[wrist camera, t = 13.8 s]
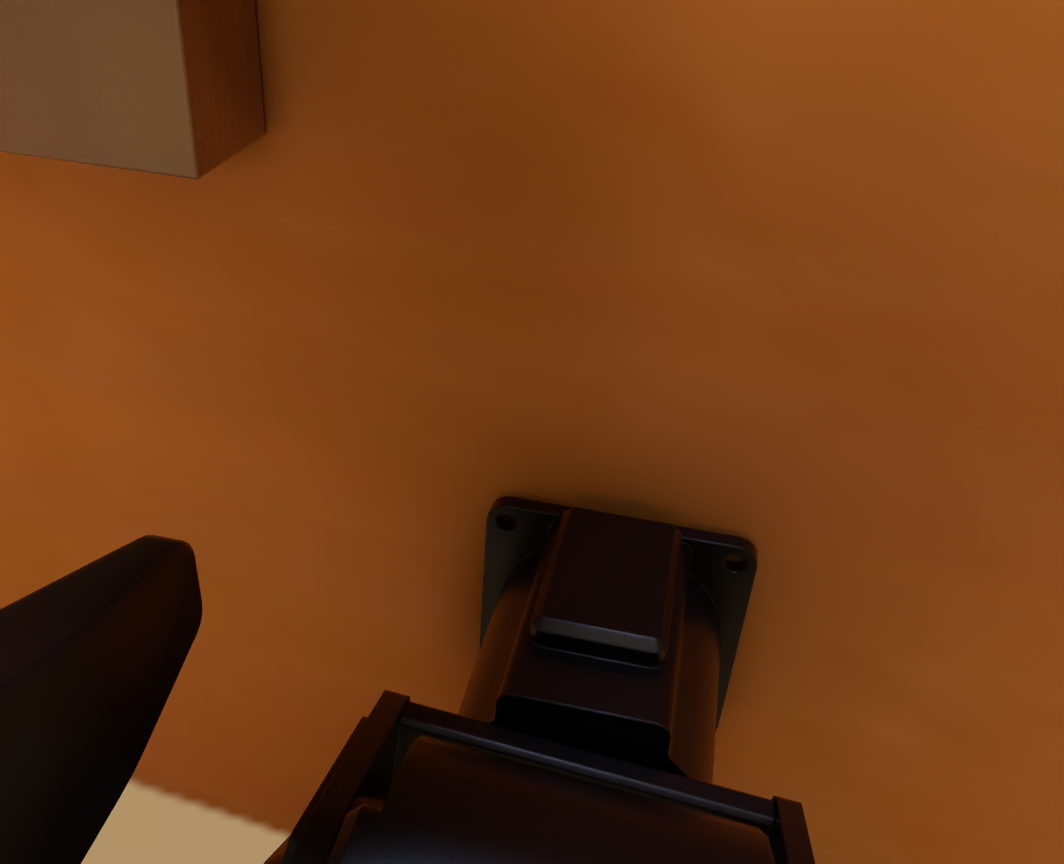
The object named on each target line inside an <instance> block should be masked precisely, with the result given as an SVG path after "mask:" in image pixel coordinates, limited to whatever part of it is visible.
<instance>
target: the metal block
mask: <svg viewBox="0 0 1064 864" xmlns="http://www.w3.org/2000/svg"><path fill="white" fill-rule="evenodd" d="M264 135H265V126H264V113H263V100H262V87H261V74H260V61H259V48H258V35H257V21H256V8H255V0H0V152H6V153H14V154H21V155H28V156H35V157H42V158H49V159H56V160H63V161H71V162H78V163H85V164H92V165H99V166H106V167H113V168H120V169H128V170H135V171H142V172H149V173H156V174H163V175H170V176H178V177H185V178H192V179H199V178H200V177H202V176H203V175H205V174H206V173H208V172H209V171H211V170H212V169H214V168H216V167H217V166H219V165H220V164H222V163H223V162H225V161H226V160H228V159H229V158H231V157H232V156H234V155H235V154H237V153H238V152H240V151H241V150H243V149H244V148H246V147H247V146H249V145H250V144H252V143H253V142H255V141H256V140H258V139H259V138H261V137H263V136H264Z"/></svg>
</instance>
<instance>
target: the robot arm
mask: <svg viewBox="0 0 1064 864" xmlns="http://www.w3.org/2000/svg"><path fill="white" fill-rule="evenodd" d="M502 514H508V515H510V516H513V517H514V518H515V519H516V521H508V520H505V519H504V518H503V517H502V516H501V515H502ZM730 556H740V557H742V558H743V559H744V560H742V561H740V562H733V561H731V560H729V559H728V557H730ZM756 569H757V550H756V548H755V546H754V544H752V543H751V542H750V541H749V540H747V539H744V538H741V537H737V536H731V535H725V534H720V533H714V532H708V531H703V530H697V529H691V528H686V527H680V526H674V525H672V524H667V523H661V522H656V521H650V520H644V519H639V518H633V517H627V516H622V515H616V514H610V513H605V512H599V511H593V510H588V509H582V508H577V507H574V508H573V507H567V506H561V505H556V504H550V503H544V502H539V501H533V500H527V499H522V498H516V497H501V498H499V499H497V500H496V501H495V502H494V503H493V504H492V506H491V509H490V511H489V514H488V517H487V525H486V543H485V561H484V579H483V598H482V616H481V634H480V652H479V654H478V657H477V660H476V663H475V666H474V669H473V672H472V675H471V678H470V681H469V683H468V686H467V689H466V692H465V695H464V698H463V701H462V704H461V707H460V709H459V712H458V714H454V713H450V712H447V711H443V710H439V709H436V708H432V707H428V706H425V705H421V704H417V703H413V702H410V696H406V695H403V694H399V693H395V692H391V691H388V690H385V691H384V692H383V694H382V695H381V697H380V699H379V700H378V702H377V704H376V705H375V707H374V709H373V710H372V712H371V714H370V715H369V717H365V716H363V717H362V718H361V720H360V722H359V723H358V725H357V727H356V728H355V730H354V731H353V733H352V735H351V736H350V738H349V740H348V741H347V743H346V745H345V746H344V748H343V749H342V751H341V753H340V754H339V756H338V758H337V759H336V761H335V762H334V764H333V766H332V767H331V769H330V771H329V772H328V774H327V776H326V777H325V779H324V780H323V782H322V784H321V785H320V787H319V789H318V790H317V792H316V793H315V795H314V797H313V798H312V800H311V802H310V803H309V805H308V807H307V808H306V810H305V811H304V813H303V815H302V816H301V818H300V820H299V821H298V823H297V825H296V826H295V828H294V830H293V832H292V833H291V835H290V836H289V837H288V838H287V839H286V840H285V841H284V842H283V843H282V844H281V846H280V847H279V848H278V849H277V850H276V851H275V852H274V853H273V854H272V855H271V856H270V857H269V858H268V859H267V860H266V861H265V863H264V864H815V861H814V857H813V852H812V848H811V843H810V839H809V834H808V830H807V826H806V821H805V817H804V812H803V808H802V804H801V803H799V802H796V801H792V800H788V799H785V798H781V797H777V796H773V798H772V799H771V800H769V799H766V798H762V797H758V796H755V795H751V794H747V793H744V792H740V791H736V790H733V789H729V788H725V787H722V786H718V785H714V784H712V778H713V762H714V746H715V731H716V729H717V728H718V723H719V719H720V715H721V711H722V707H723V703H724V699H725V695H726V691H727V687H728V683H729V679H730V675H731V671H732V667H733V663H734V659H735V655H736V650H737V646H738V642H739V638H740V634H741V630H742V626H743V622H744V618H745V614H746V610H747V606H748V602H749V598H750V594H751V590H752V586H753V581H754V577H755V573H756ZM201 618H202V599H201V593H200V586H199V580H198V573H197V567H196V561H195V555H194V551H193V549H192V547H191V546H190V545H189V543H187V542H185V541H182V540H177V539H172V538H167V537H161V536H156V535H147V536H143V537H141V538H138V539H136V540H134V541H132V542H130V543H129V544H127V545H125V546H123V547H121V548H119V549H117V550H115V551H113V552H111V553H109V554H107V555H105V556H103V557H101V558H99V559H97V560H95V561H93V562H91V563H90V564H88V565H86V566H84V567H82V568H80V569H78V570H76V571H74V572H72V573H70V574H68V575H66V576H64V577H62V578H60V579H58V580H56V581H54V582H52V583H51V584H49V585H47V586H45V587H43V588H41V589H39V590H37V591H35V592H33V593H31V594H29V595H27V596H25V597H23V598H21V599H19V600H17V601H15V602H13V603H11V604H10V605H8V606H6V607H4V608H2V609H0V864H81V862H82V860H83V859H84V857H85V856H86V854H87V852H88V850H89V849H90V847H91V845H92V844H93V842H94V840H95V838H96V837H97V835H98V833H99V832H100V830H101V828H102V826H103V825H104V823H105V822H106V820H107V818H108V816H109V815H110V813H111V811H112V810H113V808H114V806H115V805H116V803H117V801H118V799H119V798H120V796H121V794H122V792H123V790H124V789H125V787H126V785H127V783H128V782H129V780H130V778H131V776H132V774H133V773H134V771H135V768H136V766H137V764H138V762H139V760H140V758H141V756H142V754H143V752H144V750H145V748H146V745H147V743H148V741H149V739H150V737H151V734H152V732H153V730H154V728H155V725H156V723H157V721H158V719H159V717H160V714H161V712H162V710H163V708H164V706H165V703H166V701H167V699H168V697H169V694H170V692H171V690H172V688H173V686H174V683H175V681H176V679H177V677H178V674H179V672H180V670H181V668H182V666H183V663H184V661H185V659H186V657H187V654H188V652H189V650H190V648H191V646H192V643H193V641H194V639H195V637H196V634H197V632H198V630H199V626H200V623H201Z"/></svg>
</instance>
